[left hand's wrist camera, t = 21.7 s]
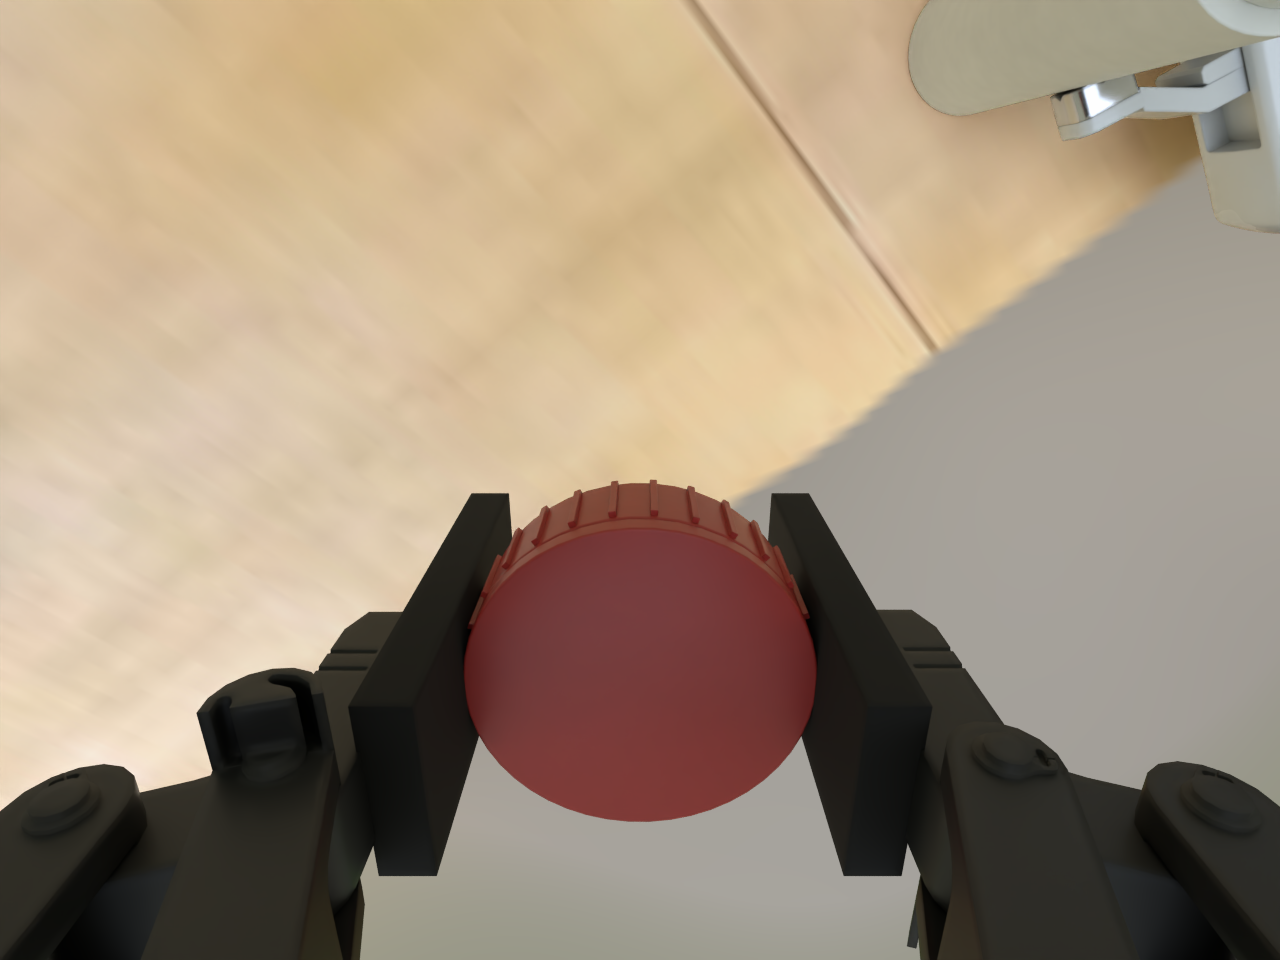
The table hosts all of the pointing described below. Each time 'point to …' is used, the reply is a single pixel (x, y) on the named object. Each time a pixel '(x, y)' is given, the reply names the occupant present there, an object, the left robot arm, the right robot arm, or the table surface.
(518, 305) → the table surface
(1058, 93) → the right robot arm
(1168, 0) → the jar
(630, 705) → the lid
